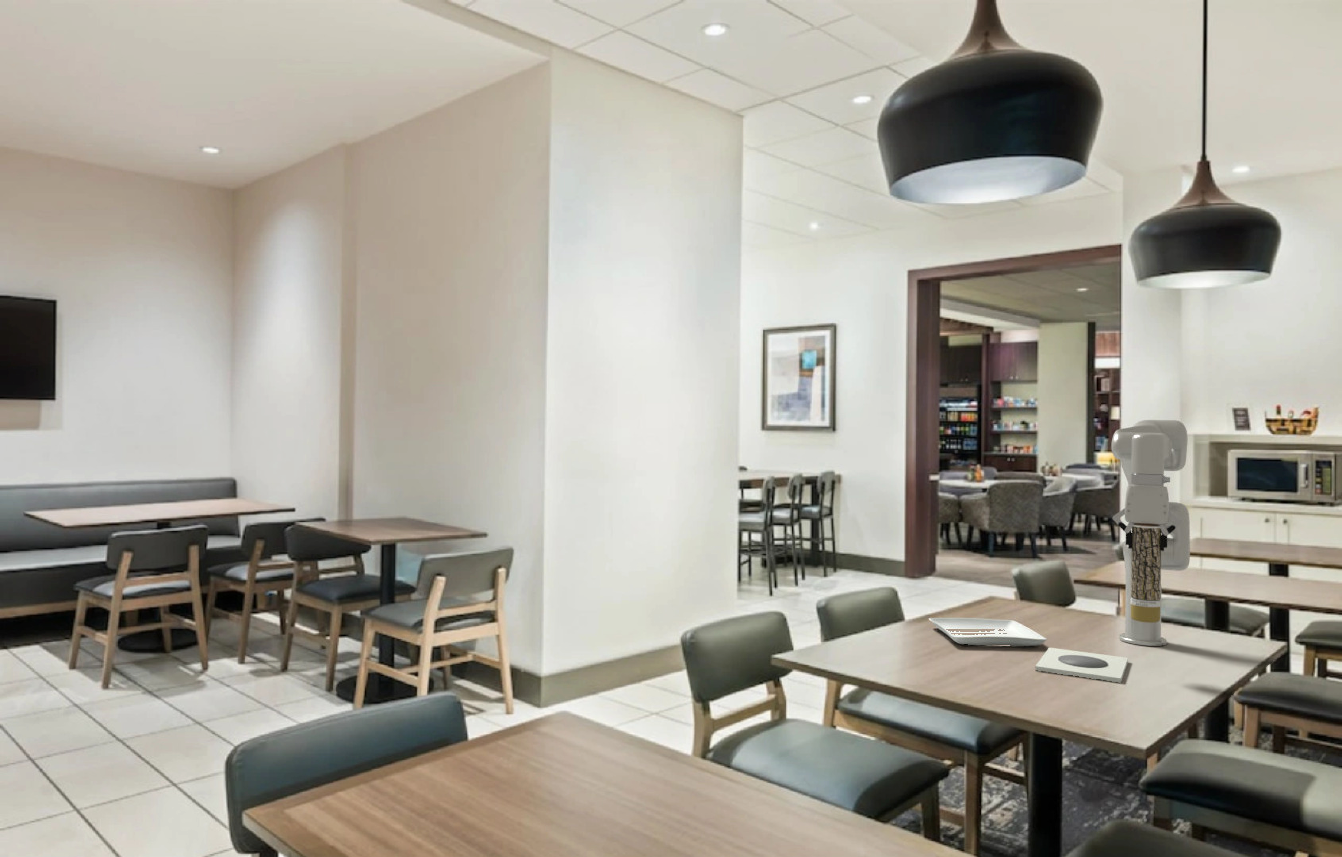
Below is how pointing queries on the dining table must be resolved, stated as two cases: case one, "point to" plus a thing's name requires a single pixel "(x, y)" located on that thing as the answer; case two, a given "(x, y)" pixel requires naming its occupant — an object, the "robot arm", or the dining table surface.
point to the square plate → (1014, 630)
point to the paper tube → (1146, 573)
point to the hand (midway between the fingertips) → (1146, 548)
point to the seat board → (1083, 664)
